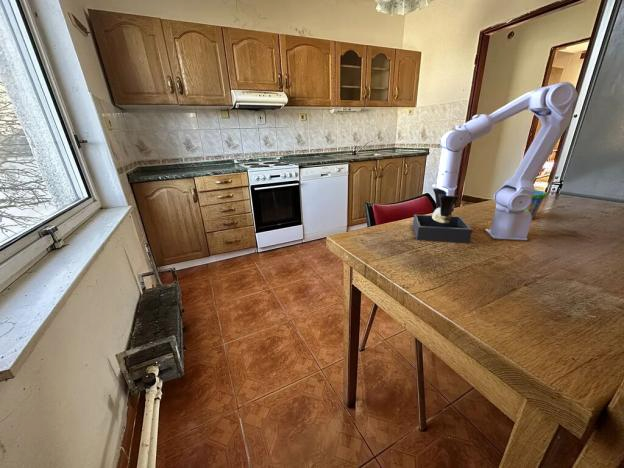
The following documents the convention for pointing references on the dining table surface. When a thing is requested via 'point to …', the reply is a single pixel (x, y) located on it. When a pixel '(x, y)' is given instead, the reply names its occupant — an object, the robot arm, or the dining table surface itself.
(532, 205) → the snack cup
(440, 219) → the chocolate bunny
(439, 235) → the bin
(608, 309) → the dining table surface
